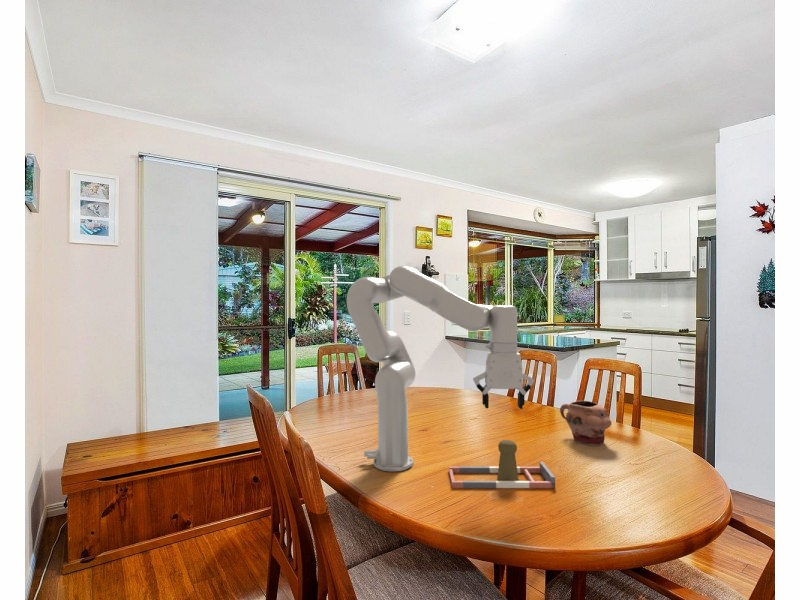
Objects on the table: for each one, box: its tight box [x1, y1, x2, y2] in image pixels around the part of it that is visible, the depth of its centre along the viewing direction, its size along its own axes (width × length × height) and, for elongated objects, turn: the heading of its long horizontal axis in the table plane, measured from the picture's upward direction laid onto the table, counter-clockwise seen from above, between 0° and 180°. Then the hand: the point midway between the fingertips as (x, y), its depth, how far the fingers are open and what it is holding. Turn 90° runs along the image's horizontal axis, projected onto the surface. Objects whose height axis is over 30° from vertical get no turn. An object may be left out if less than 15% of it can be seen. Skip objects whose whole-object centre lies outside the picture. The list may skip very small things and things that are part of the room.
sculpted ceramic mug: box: [559, 400, 612, 446], centre depth 153 cm, size 20×12×14 cm, turn 38°
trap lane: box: [448, 461, 556, 489], centre depth 122 cm, size 28×11×3 cm, turn 88°
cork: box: [496, 439, 520, 481], centre depth 122 cm, size 6×6×11 cm
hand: (503, 407), depth 122 cm, fingers open, 9 cm apart
